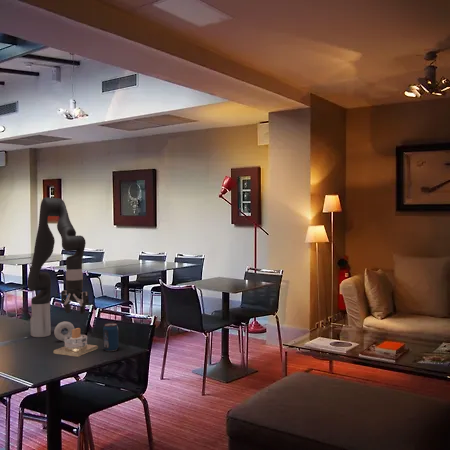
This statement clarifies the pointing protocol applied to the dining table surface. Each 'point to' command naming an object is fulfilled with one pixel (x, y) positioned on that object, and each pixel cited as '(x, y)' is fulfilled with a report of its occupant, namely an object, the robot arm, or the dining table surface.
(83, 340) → the candle holder
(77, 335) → the orange block with base
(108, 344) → the soda can
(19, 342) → the dining table surface
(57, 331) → the donut
